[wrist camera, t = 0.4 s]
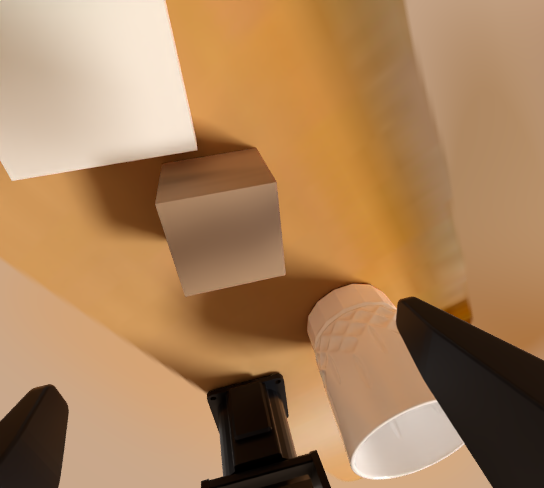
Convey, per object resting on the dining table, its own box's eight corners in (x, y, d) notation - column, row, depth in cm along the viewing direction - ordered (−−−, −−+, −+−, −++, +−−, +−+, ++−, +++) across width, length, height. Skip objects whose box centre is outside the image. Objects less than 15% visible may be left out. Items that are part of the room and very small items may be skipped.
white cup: (402, 321, 29) (489, 439, 21) (320, 362, 29) (372, 493, 21) (378, 258, 24) (477, 376, 16) (282, 308, 25) (330, 447, 17)
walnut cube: (265, 226, 21) (285, 274, 17) (185, 242, 20) (185, 296, 16) (255, 147, 18) (276, 182, 14) (162, 163, 18) (155, 204, 13)
